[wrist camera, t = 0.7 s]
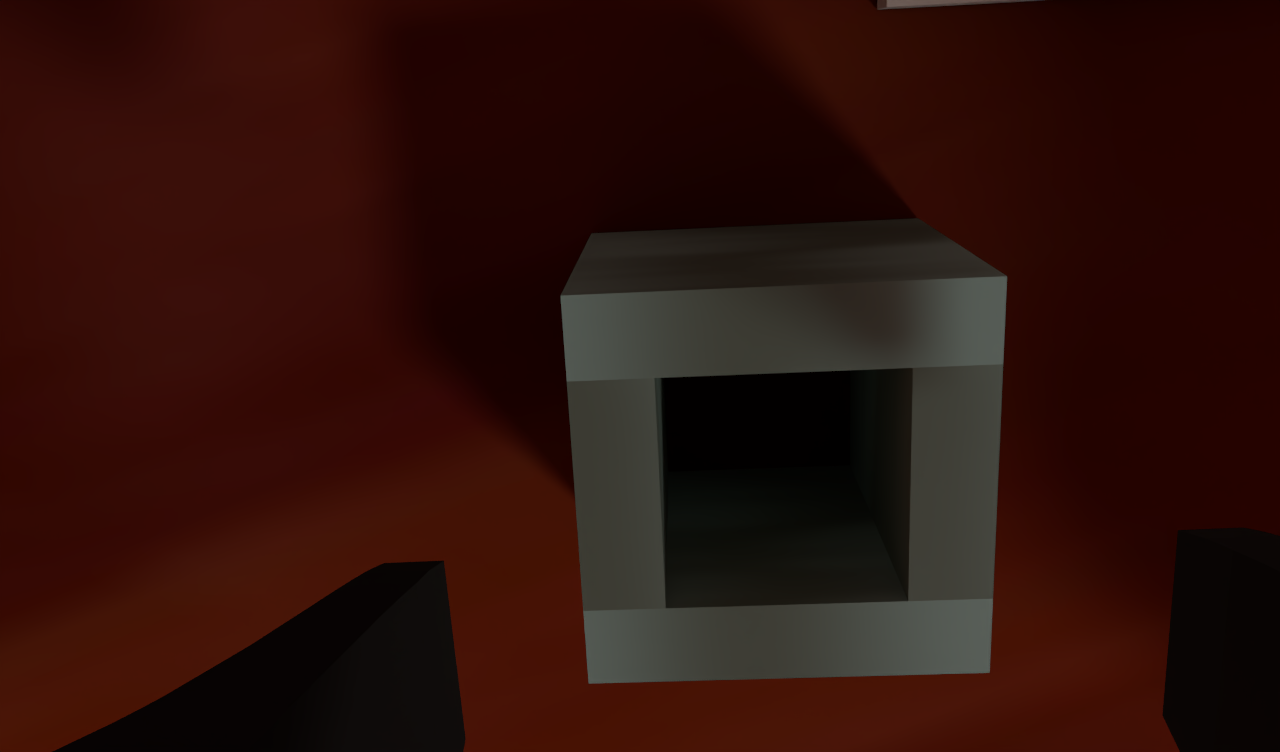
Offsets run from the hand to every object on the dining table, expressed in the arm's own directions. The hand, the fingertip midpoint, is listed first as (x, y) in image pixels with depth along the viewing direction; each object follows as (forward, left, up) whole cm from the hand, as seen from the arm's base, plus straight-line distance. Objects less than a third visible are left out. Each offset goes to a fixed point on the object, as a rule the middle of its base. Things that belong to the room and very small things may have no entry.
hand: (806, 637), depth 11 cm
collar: (0, 0, -8) cm, 8 cm away
